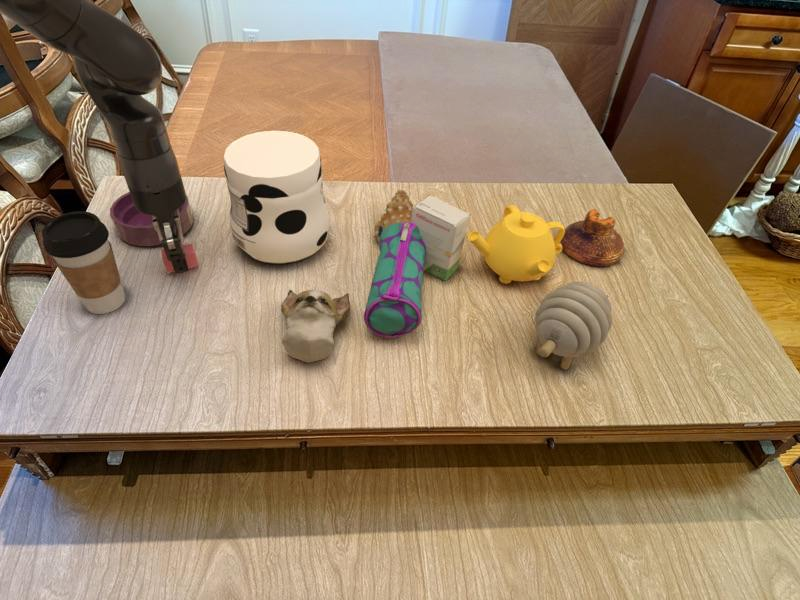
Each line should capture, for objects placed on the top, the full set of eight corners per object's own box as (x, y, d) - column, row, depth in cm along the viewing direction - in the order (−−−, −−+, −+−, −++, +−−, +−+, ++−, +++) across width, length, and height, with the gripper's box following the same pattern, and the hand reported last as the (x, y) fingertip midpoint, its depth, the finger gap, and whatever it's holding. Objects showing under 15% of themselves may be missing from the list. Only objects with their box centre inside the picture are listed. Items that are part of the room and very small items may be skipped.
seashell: (369, 237, 106) (376, 186, 103) (409, 242, 108) (416, 191, 105) (375, 246, 97) (383, 190, 95) (419, 251, 99) (428, 196, 96)
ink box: (404, 261, 96) (410, 206, 88) (420, 247, 99) (427, 193, 91) (445, 282, 93) (455, 227, 85) (460, 267, 96) (471, 212, 88)
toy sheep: (612, 331, 86) (636, 280, 79) (572, 401, 76) (596, 350, 68) (551, 303, 90) (569, 251, 83) (505, 366, 80) (521, 314, 72)
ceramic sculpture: (262, 328, 71) (283, 261, 82) (268, 372, 77) (287, 303, 88) (343, 333, 71) (352, 265, 83) (343, 376, 77) (352, 307, 88)
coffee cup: (77, 326, 82) (35, 248, 71) (75, 290, 87) (36, 213, 76) (136, 311, 84) (104, 235, 74) (131, 278, 90) (101, 202, 79)
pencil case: (376, 254, 97) (379, 210, 90) (425, 260, 97) (431, 216, 90) (361, 340, 82) (362, 295, 75) (418, 347, 82) (425, 302, 75)
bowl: (119, 254, 94) (111, 234, 91) (116, 212, 102) (109, 192, 99) (198, 239, 98) (192, 219, 95) (189, 200, 106) (183, 180, 103)
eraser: (167, 272, 90) (162, 259, 87) (165, 262, 91) (160, 248, 89) (198, 266, 91) (194, 252, 89) (196, 256, 93) (192, 242, 91)
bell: (546, 236, 104) (556, 204, 99) (596, 224, 108) (608, 193, 102) (583, 274, 96) (596, 241, 91) (636, 259, 100) (650, 227, 95)
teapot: (459, 273, 95) (468, 222, 87) (493, 235, 103) (504, 185, 95) (535, 308, 89) (552, 256, 82) (564, 265, 98) (582, 214, 90)
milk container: (341, 221, 104) (338, 134, 91) (315, 279, 92) (308, 189, 79) (255, 208, 106) (241, 121, 93) (218, 264, 93) (196, 173, 81)
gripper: (123, 156, 83) (154, 244, 95) (127, 206, 73) (161, 297, 85) (175, 149, 85) (198, 236, 97) (185, 196, 76) (209, 286, 88)
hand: (180, 264), depth 91 cm, fingers closed on eraser, 2 cm apart
